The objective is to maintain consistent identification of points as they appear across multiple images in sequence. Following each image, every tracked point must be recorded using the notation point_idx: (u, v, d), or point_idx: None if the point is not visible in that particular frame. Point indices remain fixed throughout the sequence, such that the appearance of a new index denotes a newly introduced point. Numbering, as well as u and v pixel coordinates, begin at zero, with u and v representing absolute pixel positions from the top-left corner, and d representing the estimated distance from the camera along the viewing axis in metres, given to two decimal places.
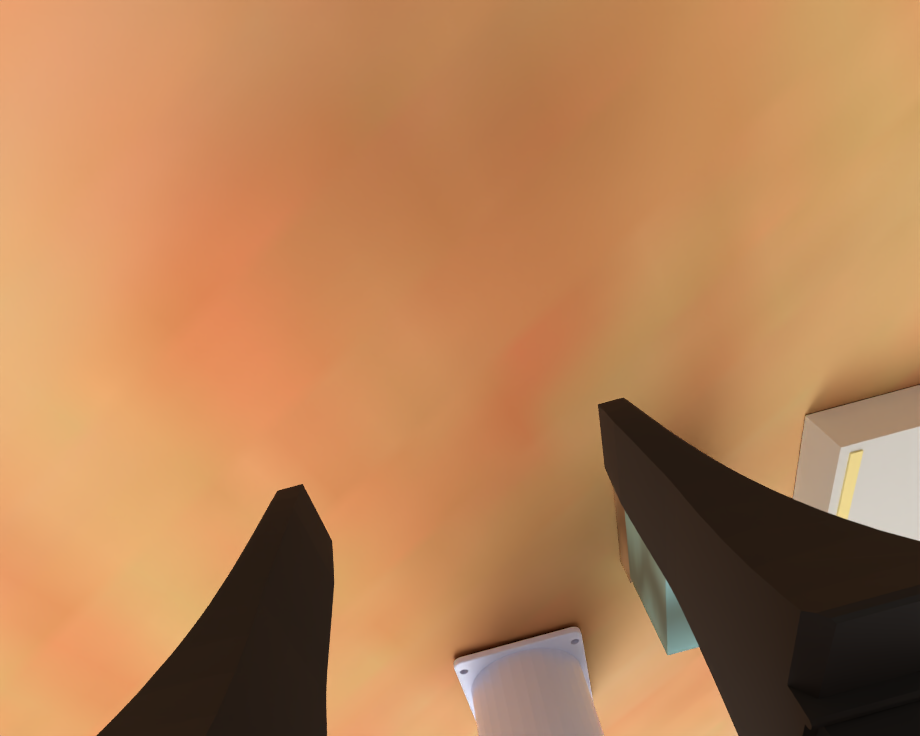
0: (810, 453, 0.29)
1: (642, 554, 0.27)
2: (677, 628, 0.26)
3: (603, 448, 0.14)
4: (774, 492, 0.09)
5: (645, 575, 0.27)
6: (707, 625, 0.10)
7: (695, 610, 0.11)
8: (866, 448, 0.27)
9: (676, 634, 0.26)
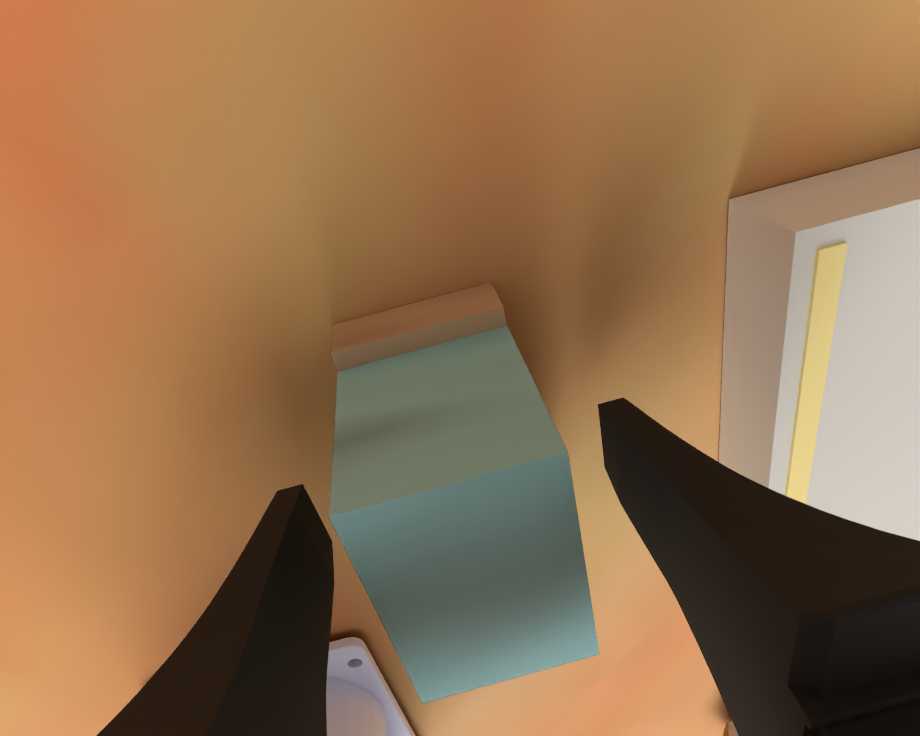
0: (742, 283, 0.14)
1: None
2: (421, 645, 0.11)
3: (603, 448, 0.14)
4: (774, 492, 0.09)
5: None
6: (707, 625, 0.10)
7: (695, 610, 0.11)
8: (855, 238, 0.12)
9: (424, 657, 0.12)
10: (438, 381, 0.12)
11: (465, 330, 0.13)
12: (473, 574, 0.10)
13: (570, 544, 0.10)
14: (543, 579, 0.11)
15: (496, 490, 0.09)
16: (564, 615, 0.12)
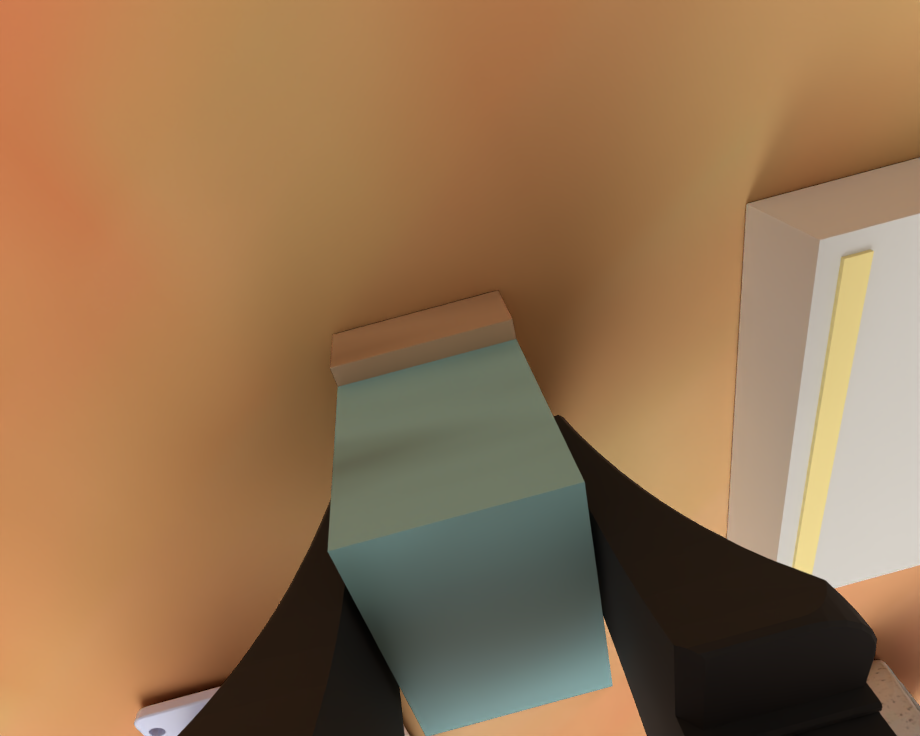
0: (759, 291, 0.14)
1: None
2: (425, 679, 0.11)
3: None
4: (682, 517, 0.09)
5: None
6: (624, 648, 0.10)
7: (616, 632, 0.11)
8: (881, 246, 0.11)
9: (428, 691, 0.11)
10: (444, 399, 0.11)
11: (472, 344, 0.12)
12: (480, 607, 0.10)
13: (585, 576, 0.10)
14: (555, 612, 0.10)
15: (507, 523, 0.09)
16: (577, 647, 0.11)
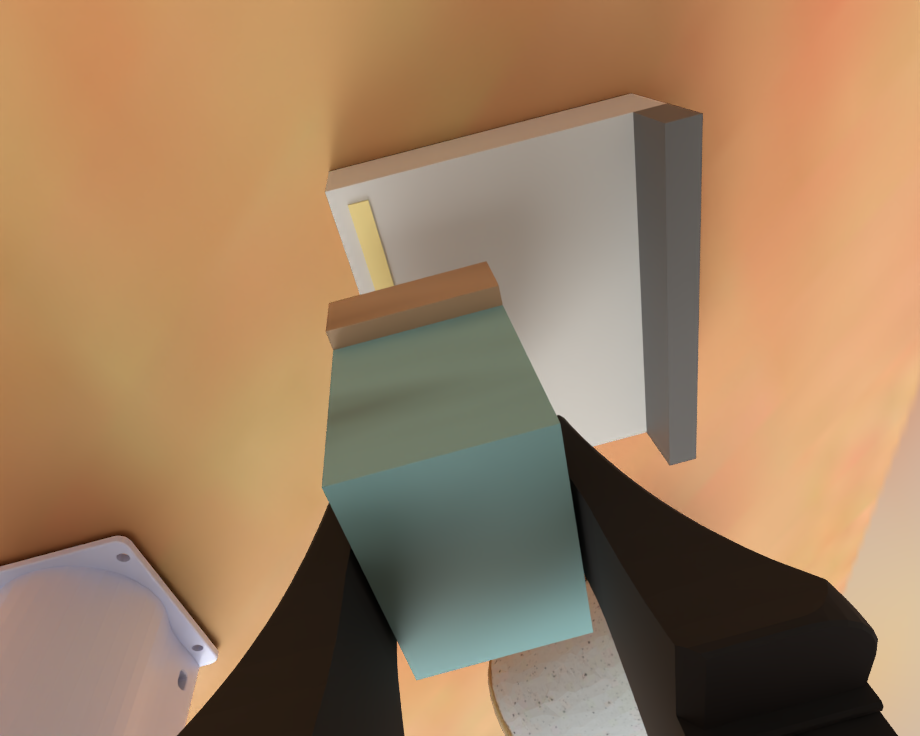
0: None
1: None
2: (414, 620, 0.11)
3: None
4: (683, 517, 0.09)
5: None
6: (625, 647, 0.10)
7: (616, 631, 0.11)
8: (376, 197, 0.16)
9: (418, 633, 0.12)
10: (433, 358, 0.12)
11: (460, 309, 0.13)
12: (465, 548, 0.11)
13: (563, 518, 0.10)
14: (536, 554, 0.11)
15: (489, 463, 0.10)
16: (558, 592, 0.12)
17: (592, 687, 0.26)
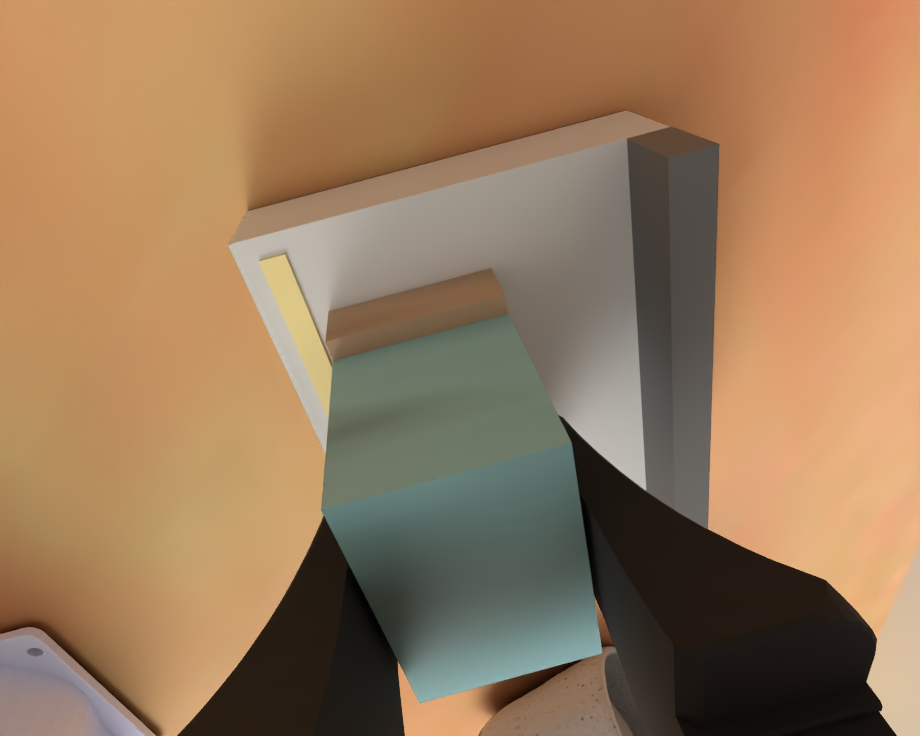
0: None
1: None
2: (418, 643, 0.11)
3: None
4: (682, 517, 0.09)
5: None
6: (624, 647, 0.10)
7: (615, 631, 0.11)
8: (296, 250, 0.13)
9: (421, 656, 0.11)
10: (436, 370, 0.11)
11: (465, 318, 0.13)
12: (471, 570, 0.10)
13: (573, 539, 0.10)
14: (545, 576, 0.10)
15: (497, 483, 0.09)
16: (567, 613, 0.11)
17: None
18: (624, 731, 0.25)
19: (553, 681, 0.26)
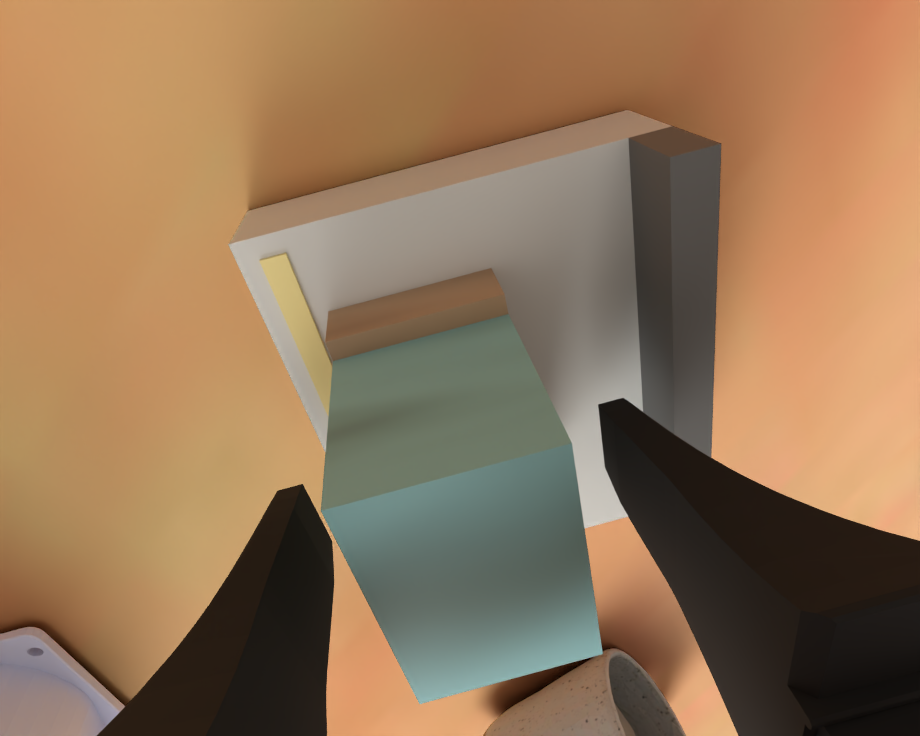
0: None
1: None
2: (417, 644, 0.11)
3: (603, 448, 0.14)
4: (774, 492, 0.09)
5: None
6: (707, 625, 0.10)
7: (695, 610, 0.11)
8: (296, 250, 0.13)
9: (421, 657, 0.11)
10: (436, 370, 0.11)
11: (465, 318, 0.12)
12: (471, 571, 0.10)
13: (573, 540, 0.10)
14: (544, 576, 0.10)
15: (496, 484, 0.09)
16: (567, 614, 0.11)
17: None
18: (628, 733, 0.25)
19: (557, 683, 0.27)
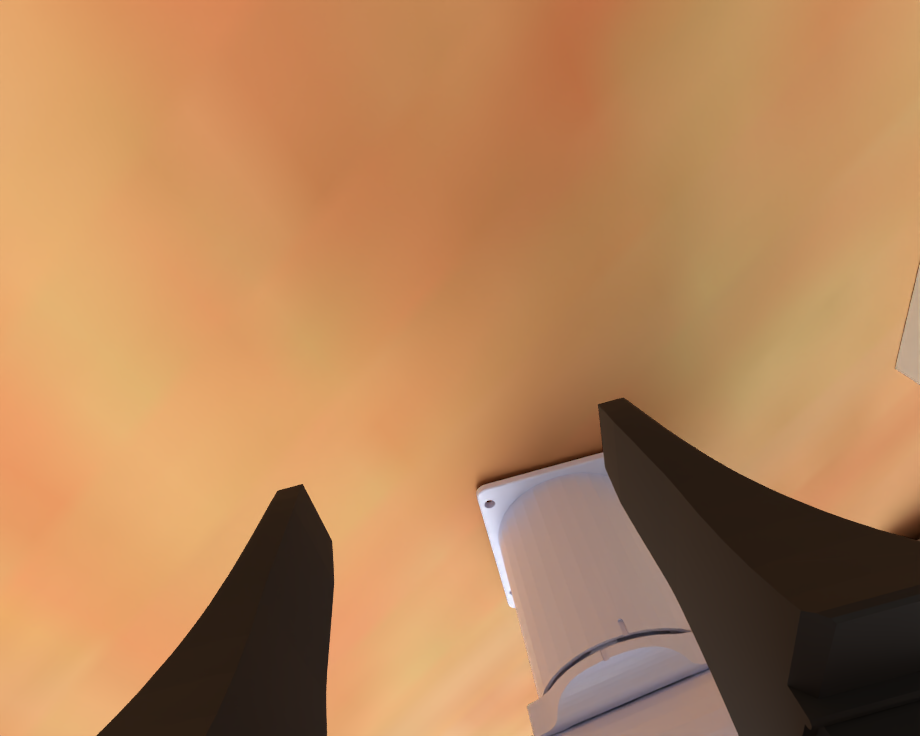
0: None
1: None
2: None
3: (603, 448, 0.14)
4: (774, 492, 0.09)
5: None
6: (707, 625, 0.10)
7: (695, 610, 0.11)
8: None
9: None
10: None
11: None
12: None
13: None
14: None
15: None
16: None
17: None
18: None
19: None
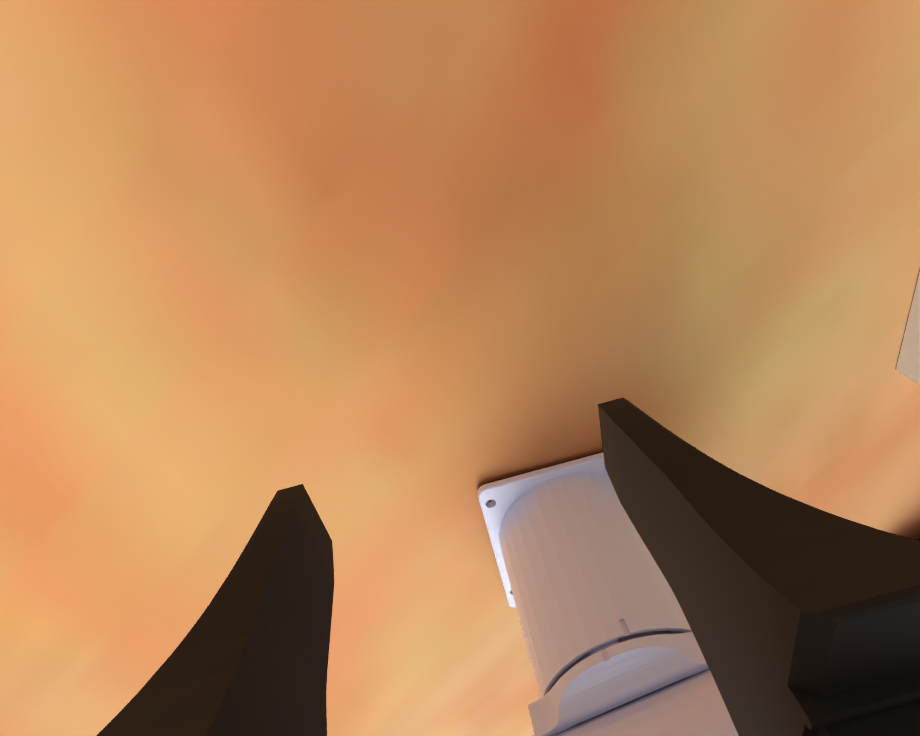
0: None
1: None
2: None
3: (603, 448, 0.14)
4: (774, 492, 0.09)
5: None
6: (707, 625, 0.10)
7: (695, 610, 0.11)
8: None
9: None
10: None
11: None
12: None
13: None
14: None
15: None
16: None
17: None
18: None
19: None
